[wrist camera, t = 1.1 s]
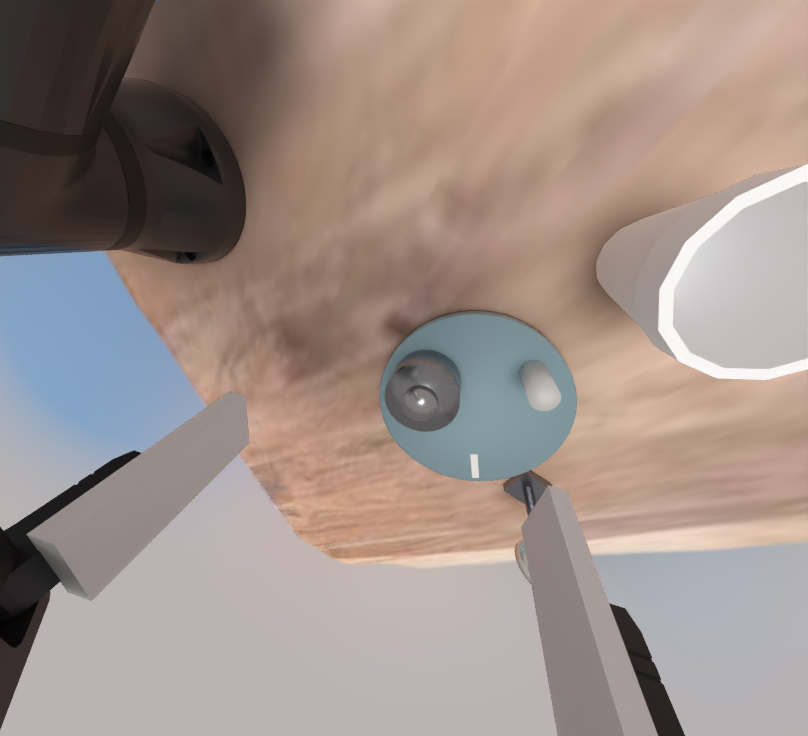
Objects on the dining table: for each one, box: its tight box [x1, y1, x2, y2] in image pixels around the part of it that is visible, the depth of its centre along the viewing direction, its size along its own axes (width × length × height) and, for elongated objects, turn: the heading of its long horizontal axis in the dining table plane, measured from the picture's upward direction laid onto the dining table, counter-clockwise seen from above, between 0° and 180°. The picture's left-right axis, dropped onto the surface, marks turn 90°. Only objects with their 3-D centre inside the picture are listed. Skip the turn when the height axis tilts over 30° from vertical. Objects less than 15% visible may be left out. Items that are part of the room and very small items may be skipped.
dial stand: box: [503, 470, 552, 584], centre depth 31 cm, size 4×4×12 cm
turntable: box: [380, 311, 577, 481], centre depth 29 cm, size 20×20×7 cm
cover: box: [384, 350, 461, 432], centre depth 28 cm, size 7×7×5 cm
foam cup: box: [596, 164, 808, 380], centre depth 19 cm, size 10×9×13 cm
